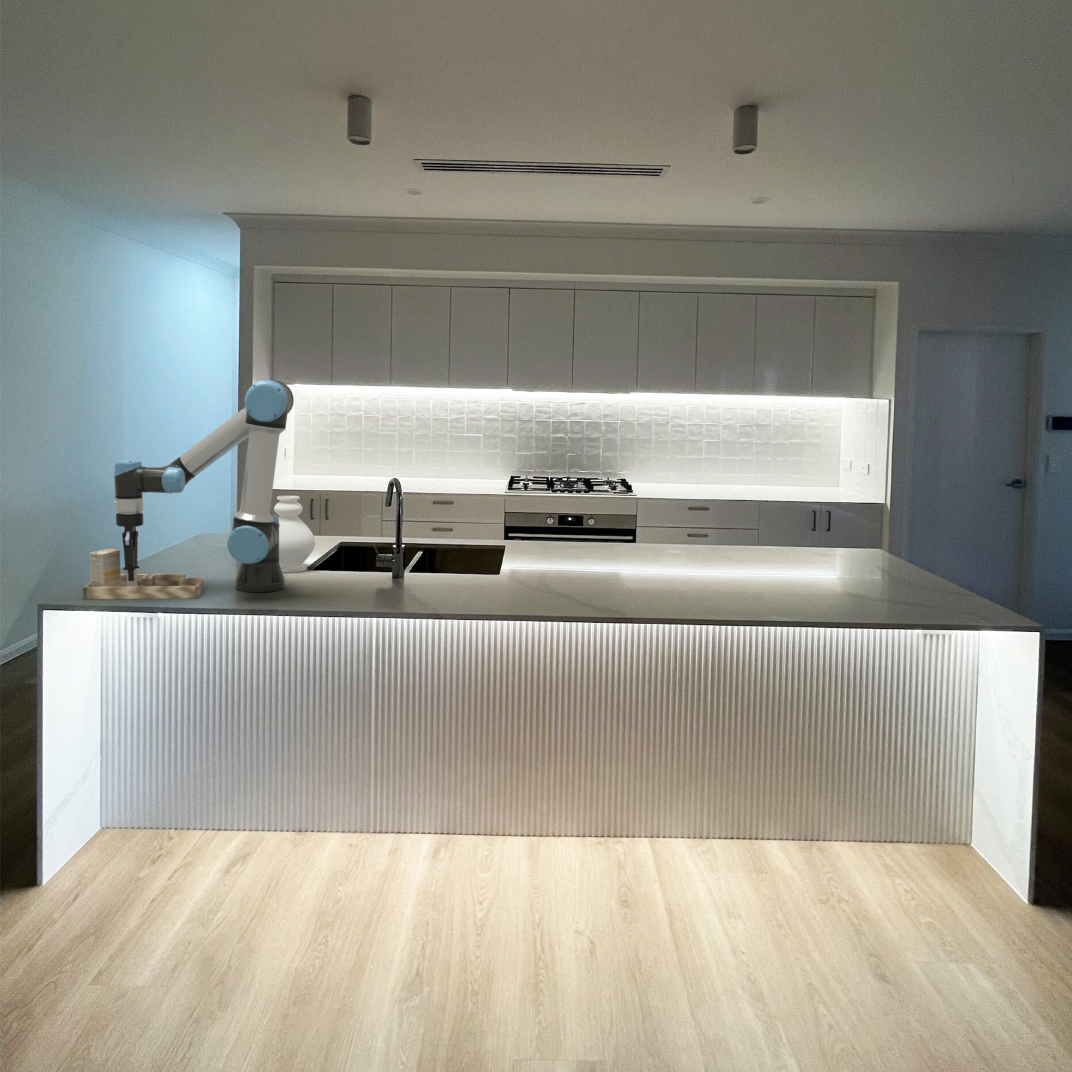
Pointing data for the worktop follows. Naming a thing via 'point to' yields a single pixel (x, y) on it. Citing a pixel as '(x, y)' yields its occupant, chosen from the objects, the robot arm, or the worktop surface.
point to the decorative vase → (293, 535)
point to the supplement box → (105, 568)
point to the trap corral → (149, 588)
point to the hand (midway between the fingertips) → (132, 590)
